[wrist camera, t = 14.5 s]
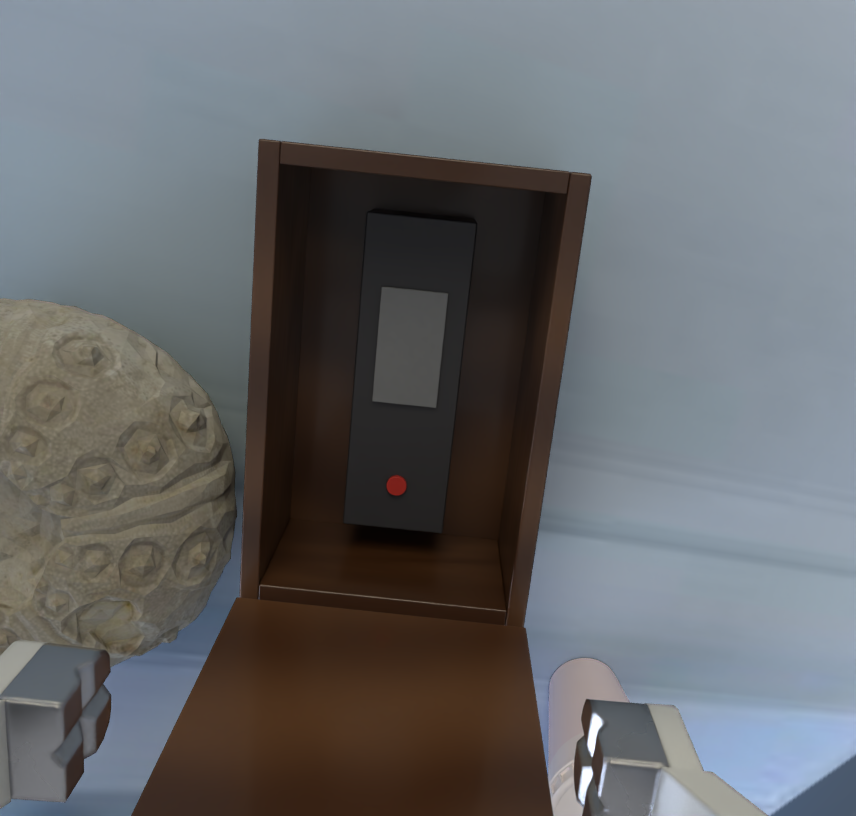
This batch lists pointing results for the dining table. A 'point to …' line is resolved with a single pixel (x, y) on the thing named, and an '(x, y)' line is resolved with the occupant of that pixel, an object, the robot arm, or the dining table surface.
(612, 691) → the smoothie
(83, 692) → the robot arm
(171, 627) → the decorative shell
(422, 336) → the remote
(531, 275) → the chest
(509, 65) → the dining table surface
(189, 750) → the lid
